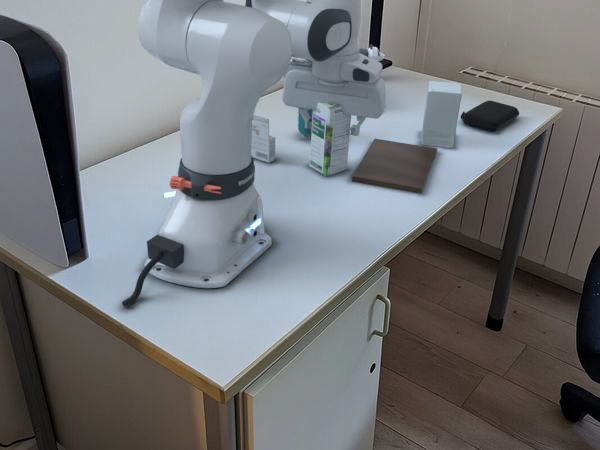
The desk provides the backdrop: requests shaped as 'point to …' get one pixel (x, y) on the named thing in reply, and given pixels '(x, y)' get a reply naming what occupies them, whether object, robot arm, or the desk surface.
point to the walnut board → (396, 165)
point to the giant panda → (372, 53)
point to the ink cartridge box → (262, 140)
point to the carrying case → (490, 116)
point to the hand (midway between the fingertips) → (331, 131)
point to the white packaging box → (441, 114)
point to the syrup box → (329, 139)
